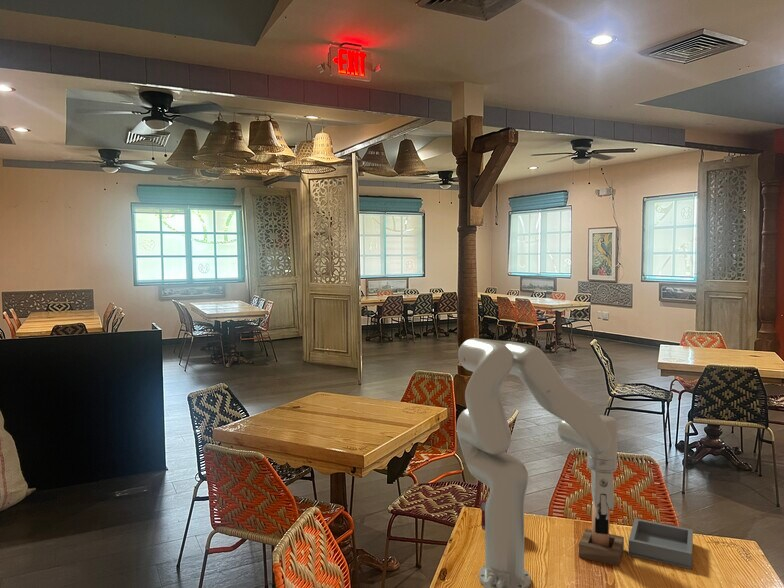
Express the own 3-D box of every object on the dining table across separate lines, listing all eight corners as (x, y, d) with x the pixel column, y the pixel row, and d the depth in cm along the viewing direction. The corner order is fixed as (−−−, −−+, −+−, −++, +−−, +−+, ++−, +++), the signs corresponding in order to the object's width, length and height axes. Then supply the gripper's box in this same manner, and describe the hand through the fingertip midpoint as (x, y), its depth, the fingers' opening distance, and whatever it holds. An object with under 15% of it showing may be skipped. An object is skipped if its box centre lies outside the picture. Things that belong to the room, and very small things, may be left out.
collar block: (618, 566, 143) (618, 553, 142) (578, 556, 147) (578, 544, 147) (623, 549, 151) (623, 536, 151) (585, 540, 156) (585, 528, 156)
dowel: (609, 551, 146) (610, 510, 146) (592, 548, 147) (593, 508, 147) (607, 543, 151) (608, 503, 150) (590, 541, 152) (591, 501, 151)
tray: (691, 569, 141) (692, 553, 141) (628, 554, 148) (628, 540, 148) (692, 543, 154) (693, 529, 154) (634, 531, 161) (634, 518, 161)
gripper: (621, 474, 139) (619, 545, 140) (612, 453, 155) (611, 517, 156) (589, 471, 141) (588, 541, 142) (584, 451, 157) (583, 514, 158)
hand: (600, 528), depth 149 cm, fingers closed on dowel, 4 cm apart
